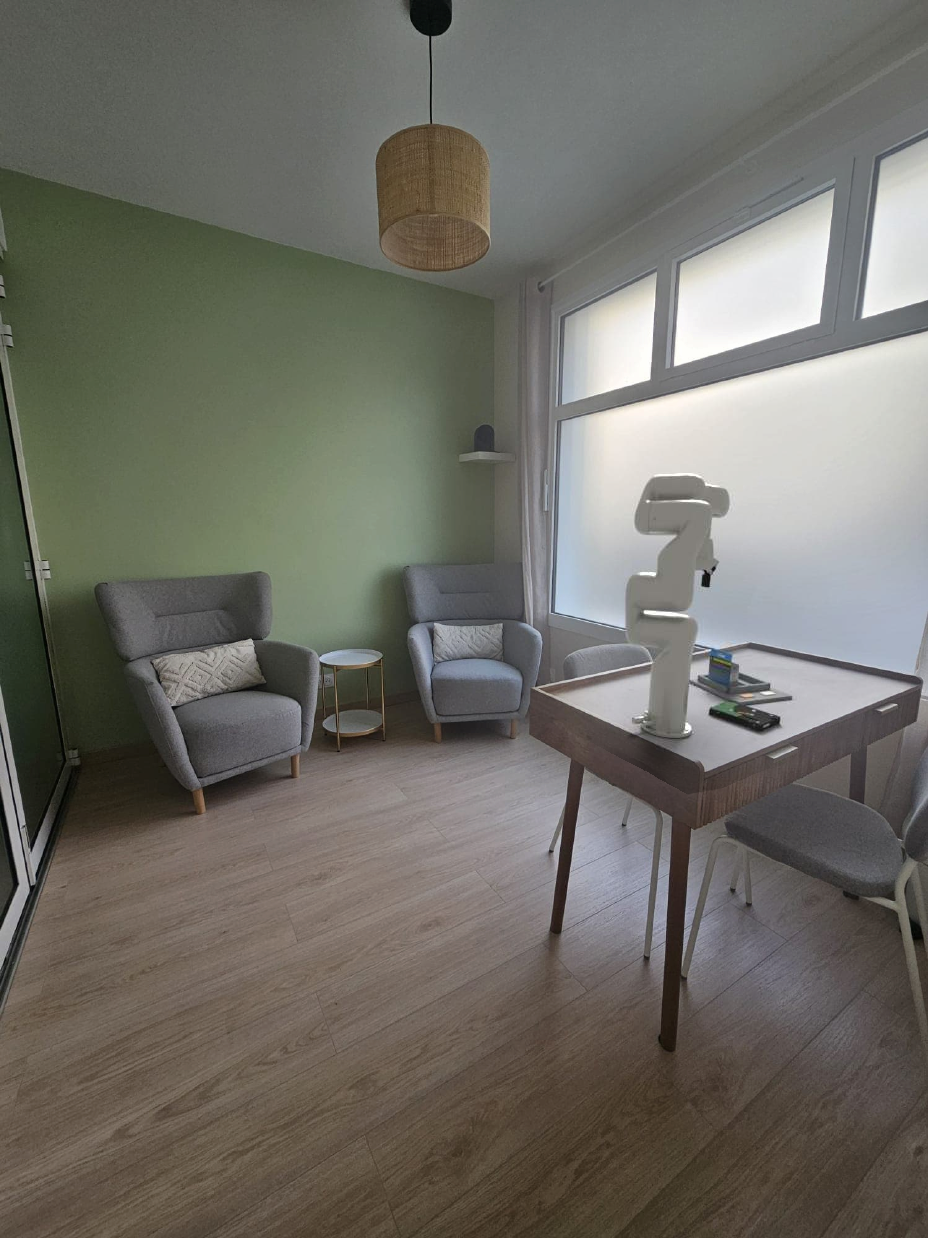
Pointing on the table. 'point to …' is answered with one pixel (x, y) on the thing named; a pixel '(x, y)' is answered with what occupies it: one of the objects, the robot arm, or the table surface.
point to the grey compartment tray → (742, 690)
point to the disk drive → (745, 716)
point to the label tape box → (723, 668)
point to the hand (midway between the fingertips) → (692, 587)
